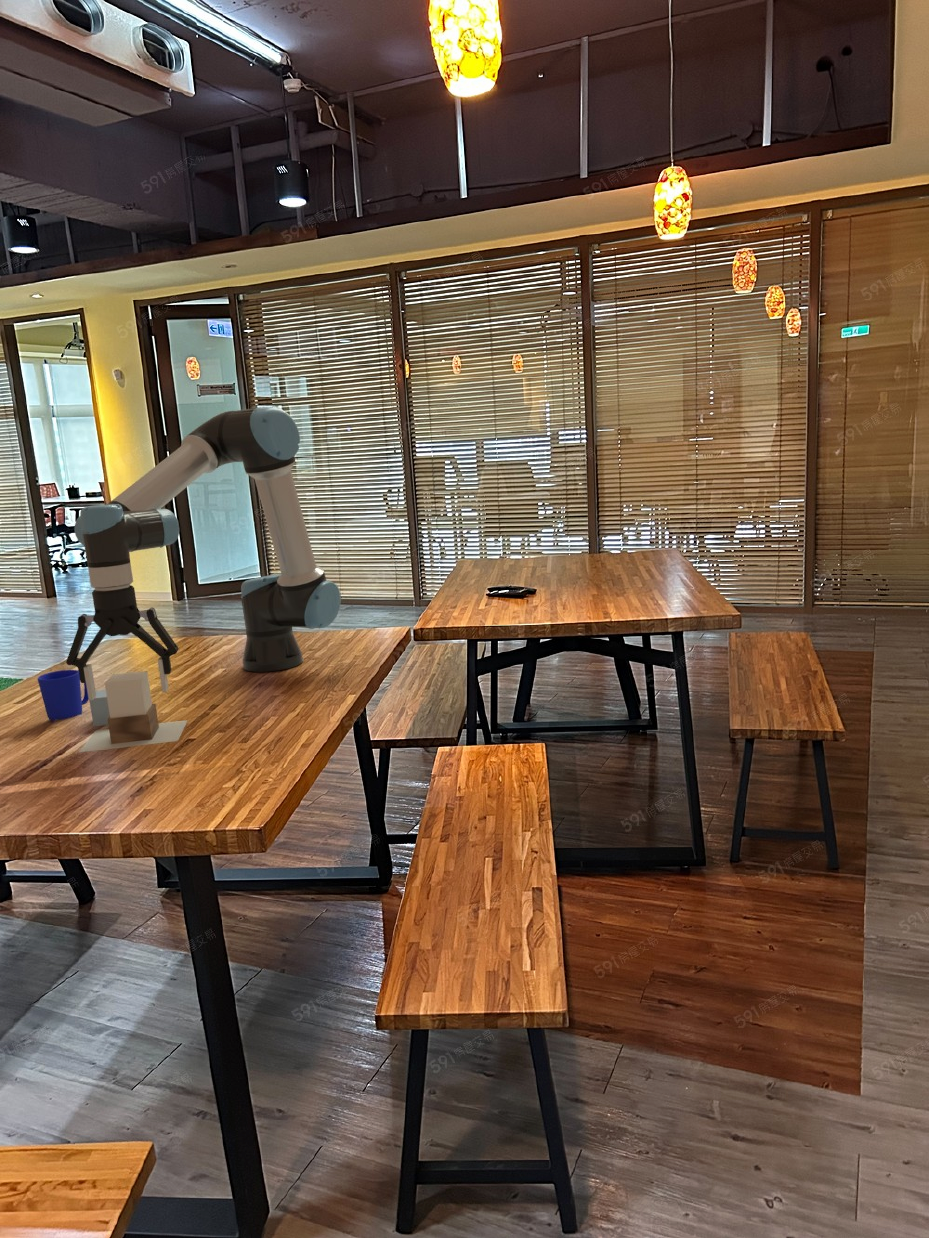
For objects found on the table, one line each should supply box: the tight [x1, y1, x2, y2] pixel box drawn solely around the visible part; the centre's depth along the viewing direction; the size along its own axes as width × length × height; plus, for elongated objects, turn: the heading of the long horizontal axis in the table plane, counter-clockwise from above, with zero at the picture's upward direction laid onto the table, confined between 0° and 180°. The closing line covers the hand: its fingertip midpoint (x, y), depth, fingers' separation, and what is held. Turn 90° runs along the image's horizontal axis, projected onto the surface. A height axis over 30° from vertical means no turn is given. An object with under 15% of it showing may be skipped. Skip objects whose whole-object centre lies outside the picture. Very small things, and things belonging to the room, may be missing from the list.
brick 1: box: [88, 688, 110, 727], centre depth 179 cm, size 6×6×7 cm
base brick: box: [107, 703, 159, 744], centre depth 167 cm, size 8×8×5 cm
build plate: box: [78, 719, 189, 753], centre depth 168 cm, size 18×13×1 cm
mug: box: [37, 669, 89, 723], centre depth 187 cm, size 8×12×10 cm
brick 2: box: [104, 670, 153, 718], centre depth 166 cm, size 6×6×7 cm
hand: (129, 694), depth 166 cm, fingers open, 13 cm apart
